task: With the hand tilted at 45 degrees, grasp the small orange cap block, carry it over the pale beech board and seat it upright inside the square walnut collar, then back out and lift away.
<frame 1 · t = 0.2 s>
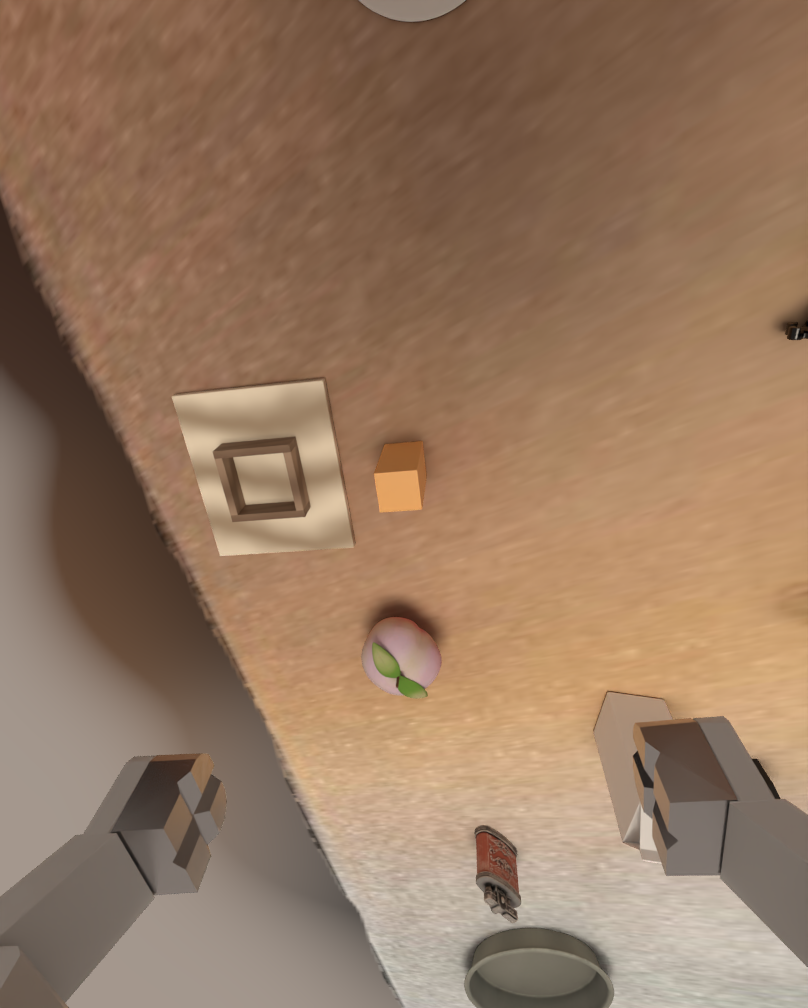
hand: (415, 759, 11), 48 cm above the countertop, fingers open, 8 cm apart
cake pan: (534, 960, 98), on the countertop
milk carton: (627, 713, 72), on the countertop
orange cap block: (405, 460, 59), on the countertop
lighter: (495, 839, 85), on the countertop
socket board: (270, 472, 61), on the countertop
decorative fruit: (403, 628, 69), on the countertop
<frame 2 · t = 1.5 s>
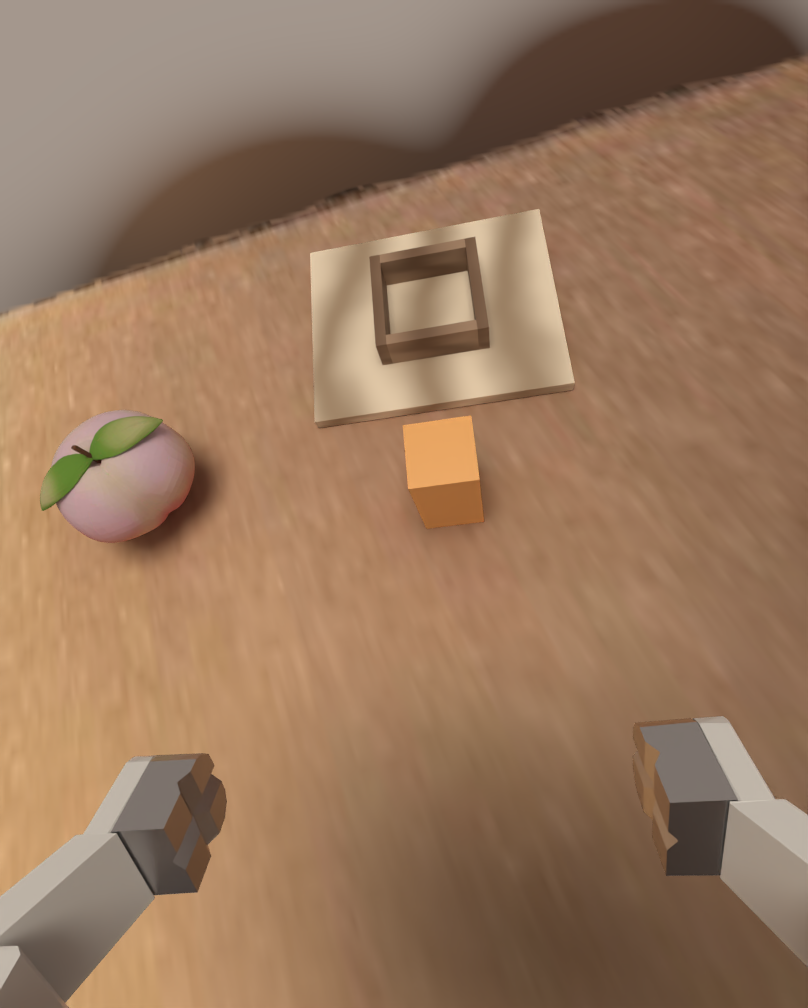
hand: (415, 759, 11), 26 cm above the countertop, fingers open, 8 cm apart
orange cap block: (452, 498, 39), on the countertop
socket board: (432, 320, 44), on the countertop
decorative fruit: (165, 498, 43), on the countertop
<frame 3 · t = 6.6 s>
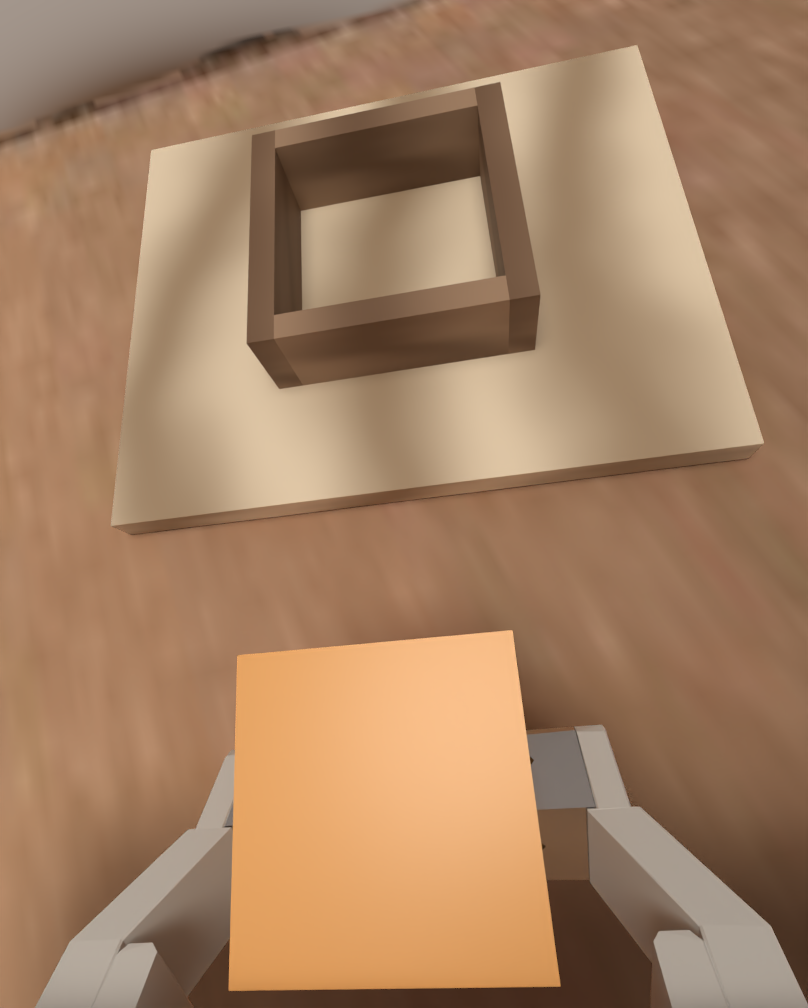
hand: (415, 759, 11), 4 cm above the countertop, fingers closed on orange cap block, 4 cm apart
orange cap block: (439, 747, 15), on the countertop, touching gripper
socket board: (399, 286, 20), on the countertop
when the fingers open (7 cm above the countertop, at t = 12.1 s): orange cap block drops 1 cm, resting on socket board.
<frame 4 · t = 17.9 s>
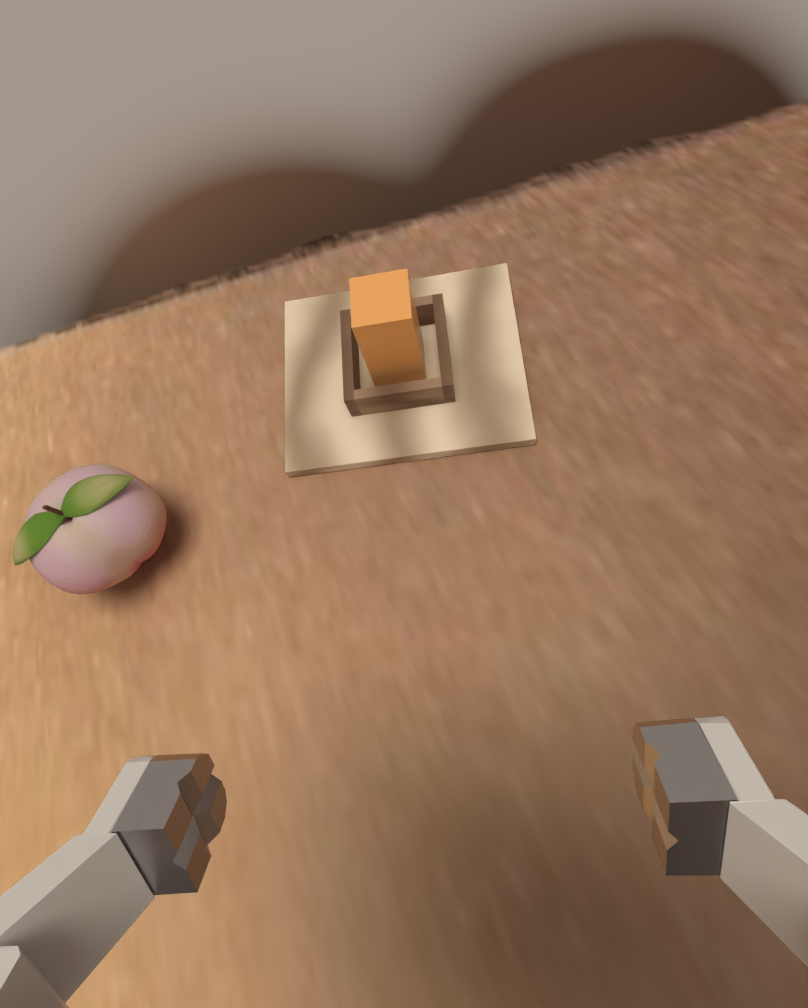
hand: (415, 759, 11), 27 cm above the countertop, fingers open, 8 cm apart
orange cap block: (400, 364, 45), point 1 cm above the countertop, touching socket board
socket board: (401, 371, 45), on the countertop
decorative fruit: (139, 544, 44), on the countertop
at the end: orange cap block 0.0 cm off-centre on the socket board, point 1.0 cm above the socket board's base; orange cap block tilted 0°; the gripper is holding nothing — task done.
